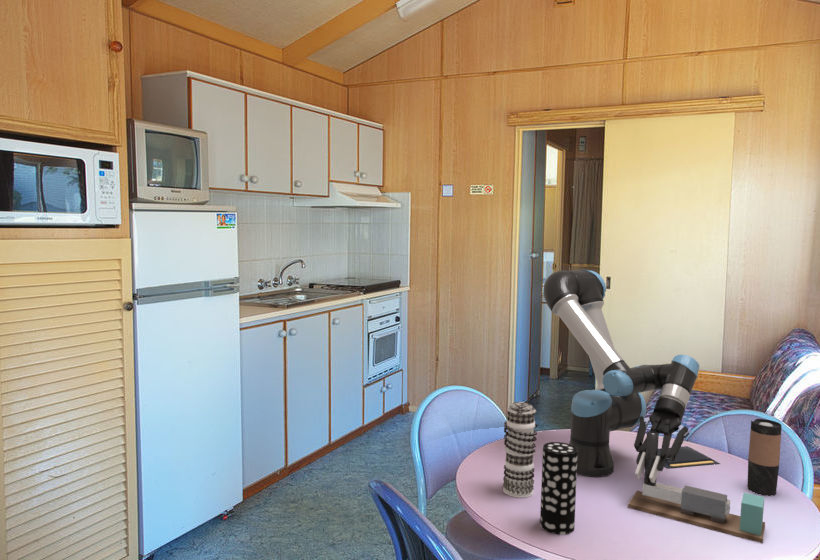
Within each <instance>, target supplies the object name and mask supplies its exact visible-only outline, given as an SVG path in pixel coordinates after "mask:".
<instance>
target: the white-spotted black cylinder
mask: <svg viewBox="0 0 820 560" xmlns="http://www.w3.org/2000/svg"><path fill="white" fill-rule="evenodd" d="M577 457H578V449H577V448H576V447H575V446H573V445H571V444H569V443H567V442H563V441H562V442H560V441H549V442H546V443H544V444H543V445H542V461H541V463H542V464H541V466H542V467H541V488H540V489H541V492H540V511H539V512H540V514H539V515H540V516H539V518H540V519H539V525H540V526H539V527H541V529H542V530H544V531H546V532H548V533H551V534H554V535H568V534H571V533H573V532H574V530H575V522H576V521H575V519H576V500H577V497H576V496H577V481H578V480H577V477H578V476H577V475H578V474H577Z"/></svg>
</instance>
